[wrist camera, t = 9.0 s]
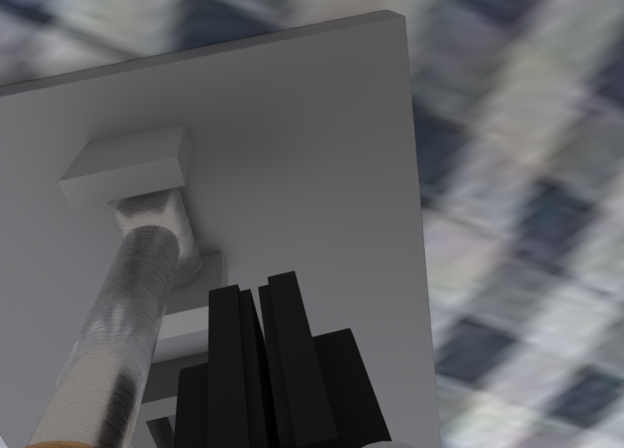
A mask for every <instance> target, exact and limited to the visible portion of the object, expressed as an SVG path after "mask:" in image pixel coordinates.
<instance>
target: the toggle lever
mask: <svg viewBox="0 0 624 448" xmlns="http://www.w3.org/2000/svg"><path fill="white" fill-rule="evenodd" d="M107 204H108V206H109V209H110V211H111V214H112V217H113V219H114V222H115V225H116V227H117V230H118V232H119V235H120V238H121V240H122V244H121V246H120V248H119V250H118V253H117V255H116V257H115V259H114V261H113V263H112V265H111V268H110V270H109V272H108V274H107V276H106V278H105V280H104V282H103V285H102V287H101V289H100V291H99V293H98V295H97V297H96V300H95V302H94V304H93V306H92V308H91V310H90V312H89V314H88V317H87V319H86V321H85V323H84V325H83V327H82V329H81V332H80V334H79V336H78V338H77V340H76V342H75V344H74V346H73V349H72V351H71V353H70V355H69V357H68V359H67V361H66V363H65V366H64V368H63V370H62V372H61V374H60V376H59V378H58V381H57V383H56V385H55V387H54V389H53V391H52V393H51V395H50V398H49V400H48V402H47V404H46V406H45V408H44V410H43V413H42V415H41V417H40V419H39V421H38V423H37V425H36V427H35V430H34V432H33V434H32V436H31V438H30V440H29V442H28V445H27V446H25V447H22V448H129V447H130V443H131V439H132V435H133V431H134V428H135V424H136V420H137V416H138V412H139V409H140V405H141V401H142V397H143V393H144V390H145V386H146V382H147V378H148V374H149V371H150V367H151V363H152V359H153V355H154V352H155V348H156V344H157V340H158V336H159V332H160V329H161V325H162V321H163V317H164V313H165V310H166V306H167V302H168V298H169V294H170V291H171V290H172V289H175V288H178V287H180V286H183V285H185V284H186V283H188V282H190V281H191V280H193V279H194V278H195V277H196V276H197V275H198V274H199V273H200V271H201V269H202V262H201V259H200V256H199V252H198V249H197V246H196V243H195V240H194V236H193V233H192V230H191V227H190V223H189V220H188V217H187V214H186V211H185V207H184V204H183V201H182V198H181V194H180V191H179V188H178V187H175V188H170V189H166V190H161V191H156V192H151V193H147V194H142V195H137V196H132V197H127V198H123V199H118V200H113V201H108V202H107Z"/></svg>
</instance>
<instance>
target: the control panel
mask: <svg viewBox="0 0 624 448" xmlns="http://www.w3.org/2000/svg"><path fill="white" fill-rule="evenodd" d="M175 187H178V188H179V191H180V194H181V198H182V201H183V204H184V207H185V211H186V214H187V217H188V220H189V223H190V227H191V230H192V233H193V236H194V240H195V243H196V246H197V249H198V252H199V256H200V259H201V262H202V269H201V271H200V273H199V274H198V275H197V276H196V277H195V278H194V279H193V280H191V281H190V282H188V283H186V284H185V285H183V286H180V287H178V288H175V289H172V290H171V291H170V294H169V298H168V302H167V306H166V310H165V313H164V317H163V321H162V325H161V329H160V332H159V336H158V340H157V344H156V348H155V352H154V355H153V359H152V363H151V367H150V371H149V374H148V378H147V382H146V386H145V390H144V393H143V397H142V401H141V405H140V409H139V412H138V416H137V420H136V424H135V428H134V431H133V435H132V439H131V443H130V447H129V448H173V443H174V430H175V417H176V404H177V391H178V378H179V372H180V370H181V369H182V368H186V367H190V366H194V365H199V364H203V363H207V362H208V305H209V291H210V290H213V289H218V288H222V287H226V286H231V285H235V284H238V286H239V288H240V291H242V290H247V289H250V290H251V292H252V296H253V300H254V303H255V307H256V311H257V315H258V318H259V322H260V326H261V329H262V333H263V337H264V341H265V335H264V328H263V321H262V313H261V306H260V299H259V292H258V287H259V286H264V285H268V278H267V277H269V276H273V275H278V274H282V273H286V272H290V271H295V273H296V277H297V281H298V284H299V288H300V292H301V296H302V300H303V304H304V307H305V311H306V315H307V319H308V323H309V327H310V331H311V334H312V337H314V336H318V335H322V334H326V333H330V332H334V331H339V330H343V329H347V328H350V329H351V331H352V333H353V335H354V338H355V341H356V344H357V346H358V349H359V352H360V355H361V357H362V360H363V363H364V365H365V368H366V371H367V374H368V376H369V379H370V382H371V384H372V387H373V390H374V393H375V395H376V398H377V401H378V404H379V406H380V409H381V412H382V414H383V417H384V420H385V423H386V425H387V428H388V431H389V433H390V436H391V439H392V441H398V442H401V443H405V444H408V445H412V446H414V447H415V448H441V441H440V429H439V417H438V405H437V393H436V381H435V369H434V357H433V345H432V333H431V321H430V309H429V297H428V286H427V274H426V262H425V250H424V238H423V226H422V214H421V202H420V190H419V178H418V166H417V154H416V142H415V130H414V118H413V107H412V95H411V83H410V71H409V59H408V47H407V35H406V23H405V16H403V15H400V14H397V13H395V12H392V11H389V10H384V11H379V12H374V13H369V14H364V15H359V16H354V17H349V18H344V19H339V20H334V21H329V22H324V23H319V24H313V25H308V26H303V27H298V28H293V29H288V30H283V31H278V32H273V33H268V34H263V35H258V36H253V37H248V38H243V39H238V40H233V41H228V42H223V43H218V44H213V45H208V46H203V47H198V48H193V49H188V50H183V51H178V52H173V53H167V54H162V55H157V56H152V57H147V58H142V59H137V60H132V61H127V62H122V63H117V64H112V65H107V66H102V67H97V68H92V69H87V70H82V71H77V72H72V73H67V74H62V75H57V76H52V77H47V78H42V79H37V80H32V81H27V82H22V83H16V84H11V85H6V86H1V87H0V435H1V437H2V439H3V440H4V442H5V443H6V445H7V447H8V448H22V447H25V446H27V445H28V442H29V440H30V438H31V436H32V434H33V432H34V430H35V427H36V425H37V423H38V421H39V419H40V417H41V415H42V413H43V410H44V408H45V406H46V404H47V402H48V400H49V398H50V395H51V393H52V391H53V389H54V387H55V385H56V383H57V381H58V378H59V376H60V374H61V372H62V370H63V368H64V366H65V363H66V361H67V359H68V357H69V355H70V353H71V351H72V349H73V346H74V344H75V342H76V340H77V338H78V336H79V334H80V332H81V329H82V327H83V325H84V323H85V321H86V319H87V317H88V314H89V312H90V310H91V308H92V306H93V304H94V302H95V300H96V297H97V295H98V293H99V291H100V289H101V287H102V285H103V282H104V280H105V278H106V276H107V274H108V272H109V270H110V268H111V265H112V263H113V261H114V259H115V257H116V255H117V253H118V250H119V248H120V246H121V244H122V240H121V238H120V235H119V232H118V230H117V227H116V225H115V222H114V219H113V217H112V214H111V211H110V209H109V206H108V204H107V202H108V201H113V200H118V199H123V198H127V197H132V196H137V195H142V194H147V193H151V192H156V191H161V190H166V189H170V188H175ZM265 344H266V342H265Z"/></svg>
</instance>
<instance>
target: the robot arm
mask: <svg viewBox="0 0 624 448" xmlns="http://www.w3.org/2000/svg"><path fill="white" fill-rule="evenodd" d="M267 278H268V285H264V286H259V287H258V292H259V299H260V306H261V313H262V321H263V328H264V335H265V341H264V337H263V333H262V329H261V326H260V322H259V318H258V315H257V311H256V307H255V303H254V300H253V296H252V292H251V290H250V289H247V290H242V291H240V288H239V286H238V284H235V285H231V286H226V287H222V288H218V289H213V290H210V291H209V305H208V362H207V363H203V364H199V365H194V366H190V367H186V368H182V369H181V370H180V372H179V378H178V391H177V404H176V417H175V430H174V443H173V448H415V447H414V446H412V445H408V444H405V443H401V442H398V441H392V439H391V436H390V433H389V431H388V428H387V425H386V423H385V420H384V417H383V414H382V412H381V409H380V406H379V404H378V401H377V398H376V395H375V393H374V390H373V387H372V384H371V382H370V379H369V376H368V374H367V371H366V368H365V365H364V363H363V360H362V357H361V355H360V352H359V349H358V346H357V344H356V341H355V338H354V335H353V333H352V331H351V329H350V328H347V329H343V330H339V331H334V332H330V333H326V334H322V335H318V336H314V337H312V334H311V331H310V327H309V323H308V319H307V315H306V311H305V307H304V304H303V300H302V296H301V292H300V288H299V284H298V281H297V277H296V273H295V271H290V272H286V273H282V274H278V275H273V276H269V277H267ZM265 342H266V344H265Z"/></svg>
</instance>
